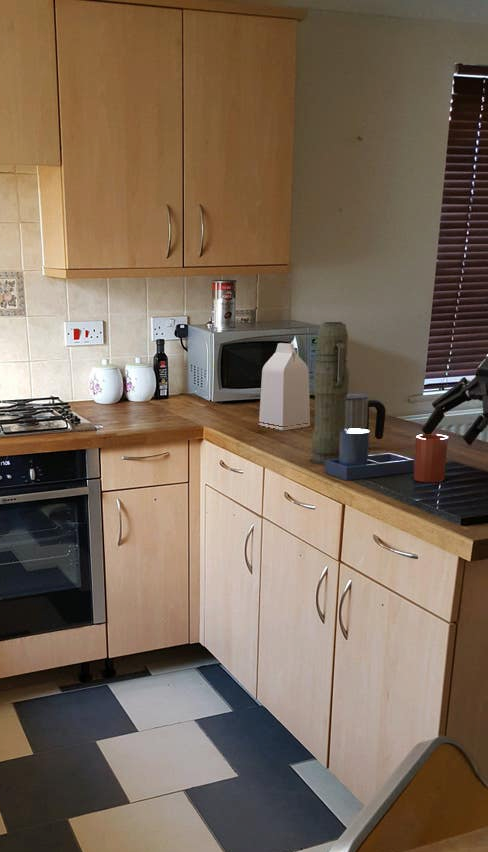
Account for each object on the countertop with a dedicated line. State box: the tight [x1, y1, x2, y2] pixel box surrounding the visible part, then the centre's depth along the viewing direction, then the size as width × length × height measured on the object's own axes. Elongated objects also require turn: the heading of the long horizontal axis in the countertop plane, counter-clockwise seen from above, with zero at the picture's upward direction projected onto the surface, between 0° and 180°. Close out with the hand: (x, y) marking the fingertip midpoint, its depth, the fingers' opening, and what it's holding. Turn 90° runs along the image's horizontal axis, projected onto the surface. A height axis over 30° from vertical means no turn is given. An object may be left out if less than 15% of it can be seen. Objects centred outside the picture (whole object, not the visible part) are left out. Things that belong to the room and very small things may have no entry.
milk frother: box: [345, 393, 387, 440], centre depth 245 cm, size 14×16×15 cm
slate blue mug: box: [339, 429, 370, 467], centre depth 212 cm, size 7×7×10 cm
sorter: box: [324, 452, 415, 481], centre depth 215 cm, size 10×19×3 cm, turn 111°
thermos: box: [311, 321, 350, 465], centre depth 224 cm, size 9×12×35 cm
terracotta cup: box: [413, 433, 449, 483], centre depth 205 cm, size 7×7×10 cm
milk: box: [258, 342, 311, 431], centre depth 280 cm, size 12×12×26 cm
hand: (445, 437), depth 205 cm, fingers open, 13 cm apart
